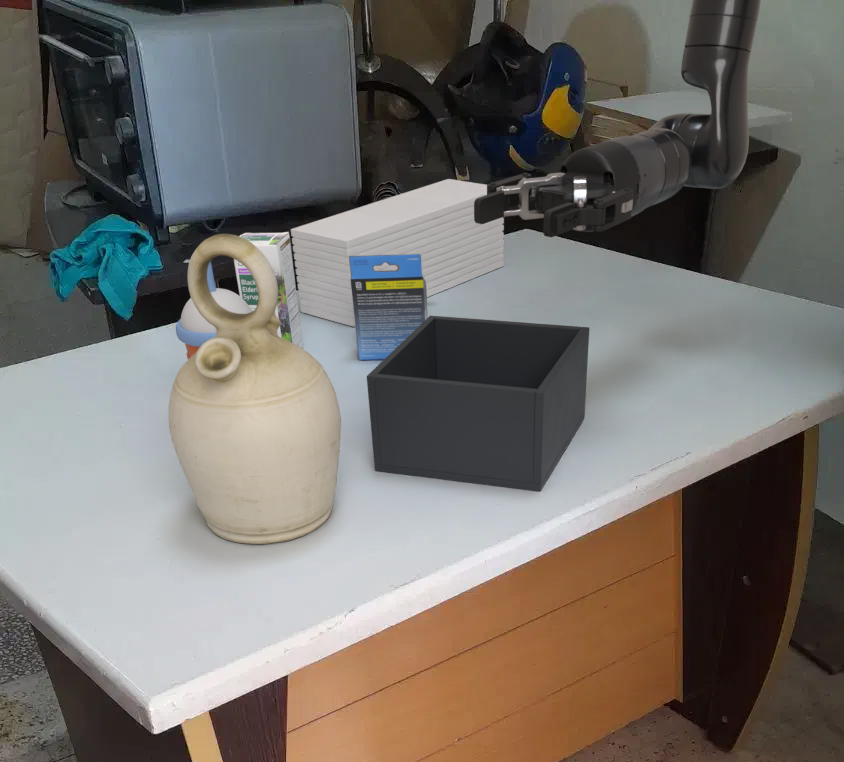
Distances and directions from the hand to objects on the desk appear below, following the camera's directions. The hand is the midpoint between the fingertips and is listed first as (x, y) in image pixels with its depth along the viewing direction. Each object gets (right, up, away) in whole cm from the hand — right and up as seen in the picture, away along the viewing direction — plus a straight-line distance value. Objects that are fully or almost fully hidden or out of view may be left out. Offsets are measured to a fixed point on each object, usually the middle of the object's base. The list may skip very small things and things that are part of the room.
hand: (510, 218), depth 95 cm
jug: (-23, -28, +2) cm, 36 cm away
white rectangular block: (-11, +17, +52) cm, 56 cm away
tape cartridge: (-12, 0, +33) cm, 35 cm away
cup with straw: (-30, -12, +21) cm, 38 cm away
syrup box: (-27, -1, +33) cm, 43 cm away
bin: (-2, -18, +12) cm, 21 cm away
